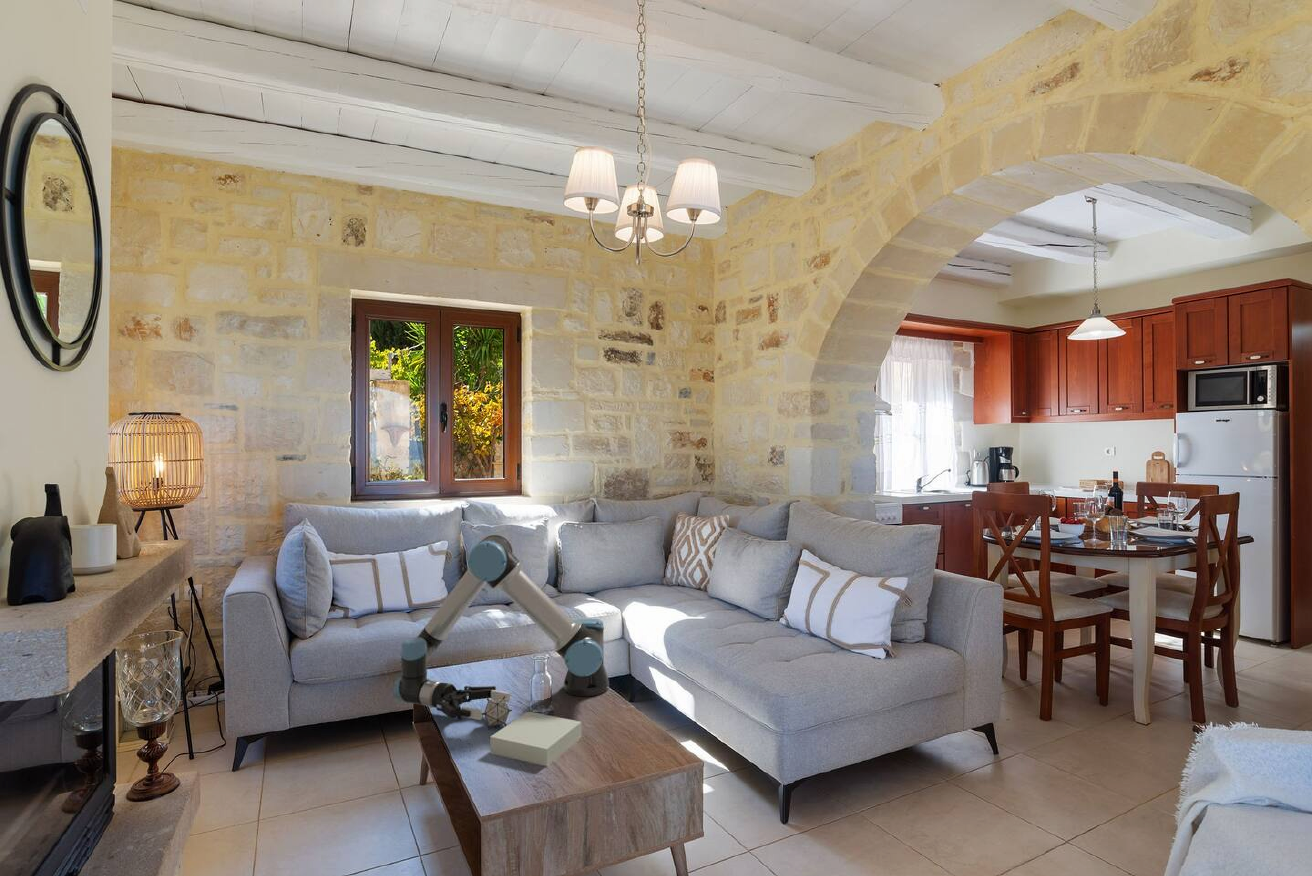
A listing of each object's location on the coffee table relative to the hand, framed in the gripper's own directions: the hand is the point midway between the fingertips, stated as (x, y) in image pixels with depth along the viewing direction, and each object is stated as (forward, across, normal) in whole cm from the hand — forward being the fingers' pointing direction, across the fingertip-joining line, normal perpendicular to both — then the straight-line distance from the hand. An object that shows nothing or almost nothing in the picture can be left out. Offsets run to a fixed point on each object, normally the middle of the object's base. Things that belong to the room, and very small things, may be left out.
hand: (495, 706), depth 206 cm
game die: (0, 0, -6) cm, 6 cm away
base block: (+18, +6, -6) cm, 20 cm away
